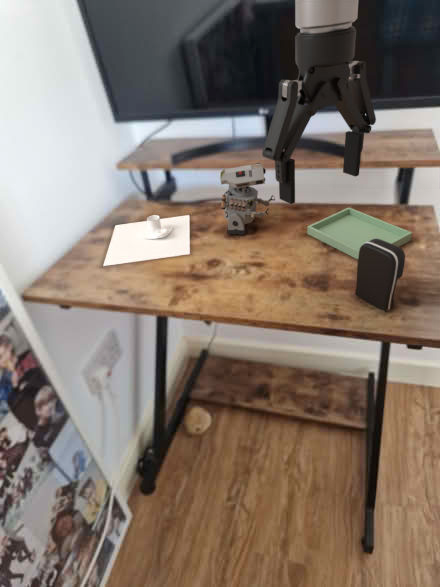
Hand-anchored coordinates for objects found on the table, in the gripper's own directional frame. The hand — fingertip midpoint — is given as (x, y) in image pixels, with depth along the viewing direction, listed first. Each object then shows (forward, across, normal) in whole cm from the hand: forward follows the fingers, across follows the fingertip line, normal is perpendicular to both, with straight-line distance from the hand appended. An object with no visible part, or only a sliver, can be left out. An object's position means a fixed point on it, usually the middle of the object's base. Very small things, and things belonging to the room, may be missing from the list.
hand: (320, 187), depth 64 cm
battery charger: (+20, -5, +9) cm, 23 cm away
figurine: (+20, -5, -29) cm, 36 cm away
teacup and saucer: (+20, +16, -42) cm, 49 cm away
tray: (+20, -19, -8) cm, 29 cm away
